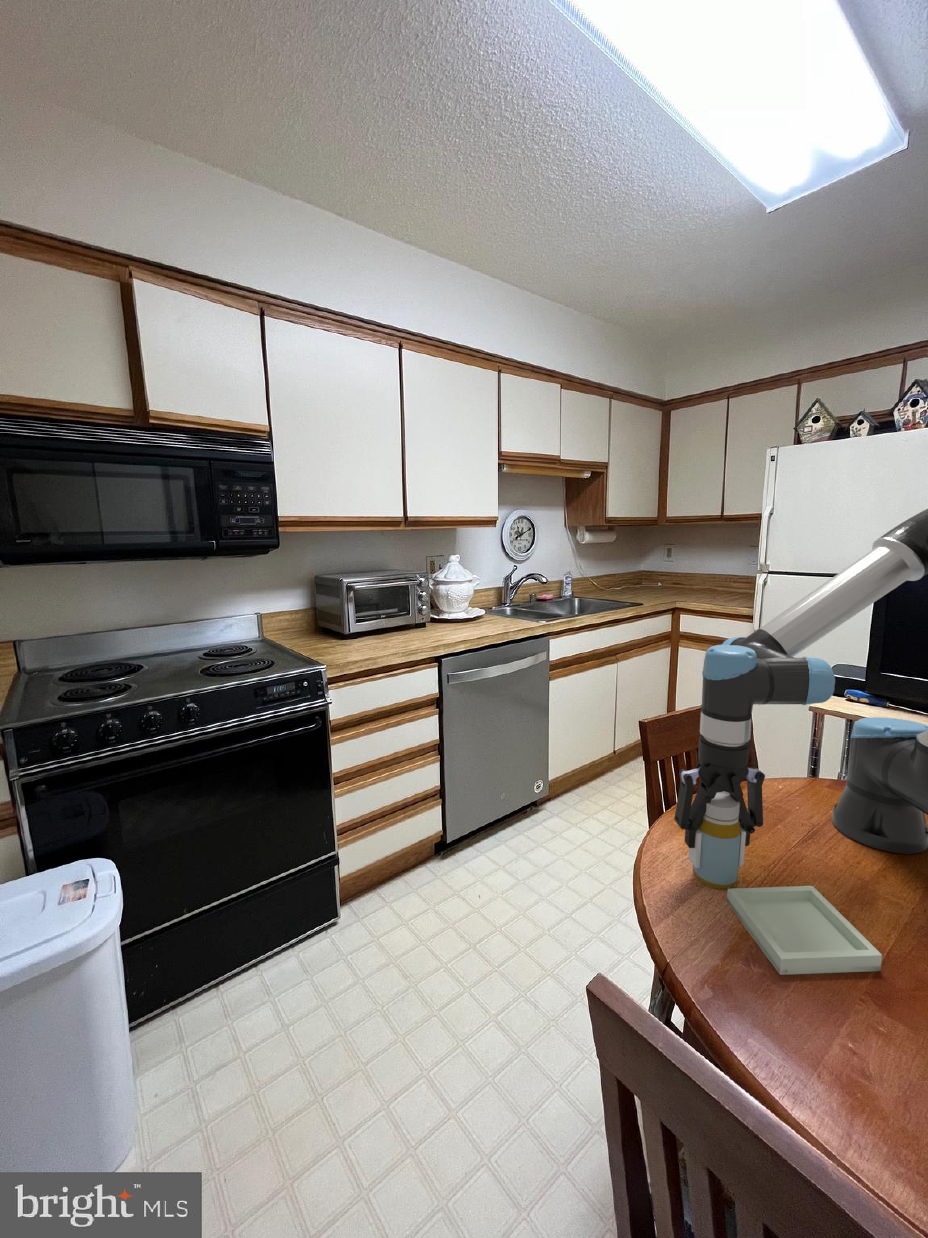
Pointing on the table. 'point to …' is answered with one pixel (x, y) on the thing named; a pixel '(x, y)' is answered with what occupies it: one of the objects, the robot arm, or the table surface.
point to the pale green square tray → (802, 931)
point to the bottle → (719, 843)
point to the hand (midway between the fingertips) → (715, 862)
